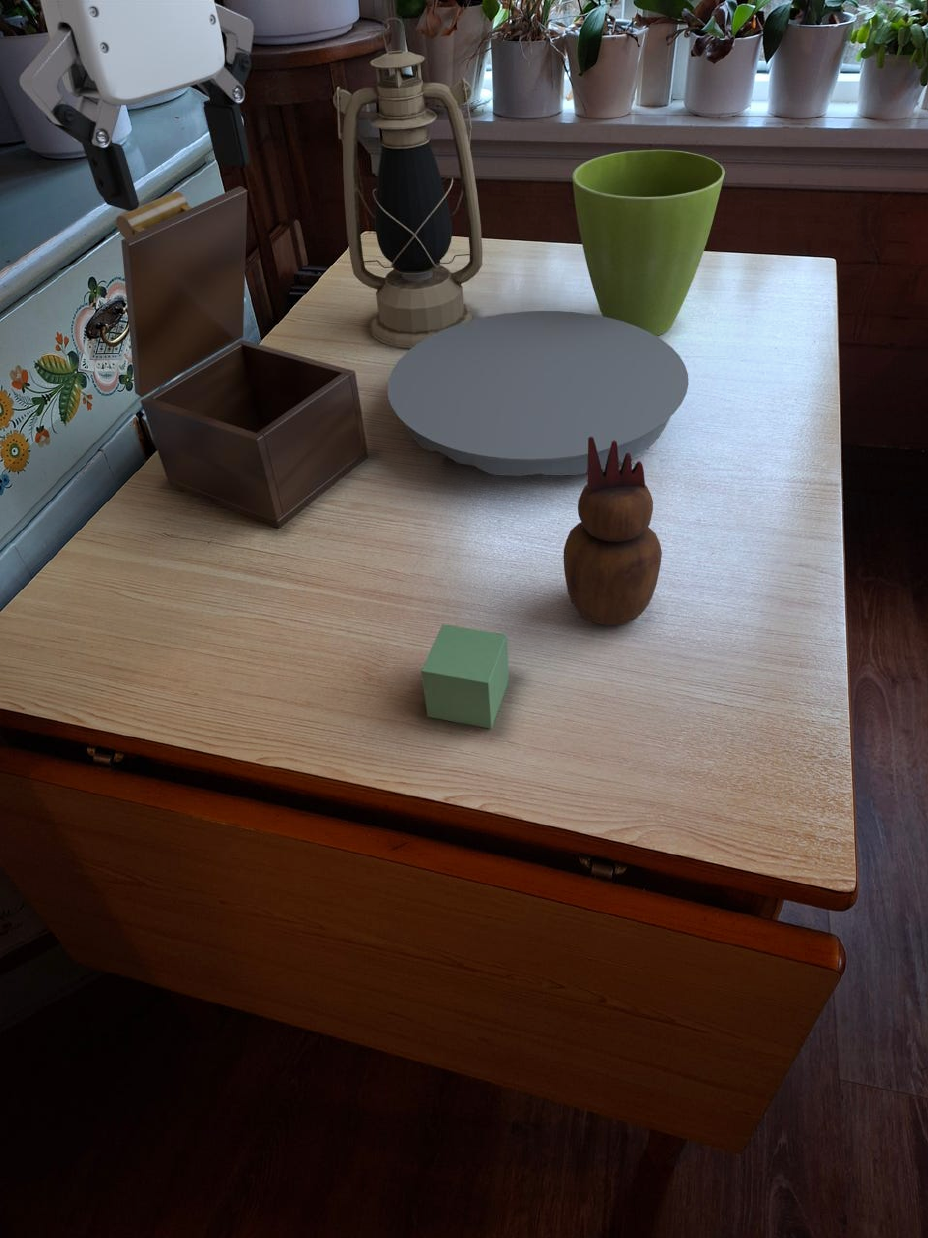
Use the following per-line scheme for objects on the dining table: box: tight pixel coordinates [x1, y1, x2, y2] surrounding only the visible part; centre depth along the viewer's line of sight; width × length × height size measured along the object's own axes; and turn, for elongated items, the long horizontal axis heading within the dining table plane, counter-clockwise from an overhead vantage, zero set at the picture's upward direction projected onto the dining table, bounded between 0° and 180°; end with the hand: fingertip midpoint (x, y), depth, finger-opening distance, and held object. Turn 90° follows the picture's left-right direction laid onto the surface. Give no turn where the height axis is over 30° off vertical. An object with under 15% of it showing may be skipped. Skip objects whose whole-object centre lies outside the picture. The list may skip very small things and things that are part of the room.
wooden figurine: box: [563, 437, 663, 626], centre depth 62 cm, size 7×6×15 cm
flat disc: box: [386, 310, 689, 477], centre depth 87 cm, size 28×28×4 cm
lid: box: [115, 185, 248, 398], centre depth 76 cm, size 14×13×5 cm
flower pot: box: [571, 149, 726, 337], centre depth 96 cm, size 15×15×16 cm
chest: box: [140, 339, 369, 529], centre depth 81 cm, size 14×13×9 cm
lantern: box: [332, 17, 484, 350], centre depth 94 cm, size 14×12×30 cm
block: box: [420, 624, 510, 730], centre depth 60 cm, size 4×4×4 cm
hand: (180, 184), depth 63 cm, fingers open, 9 cm apart
